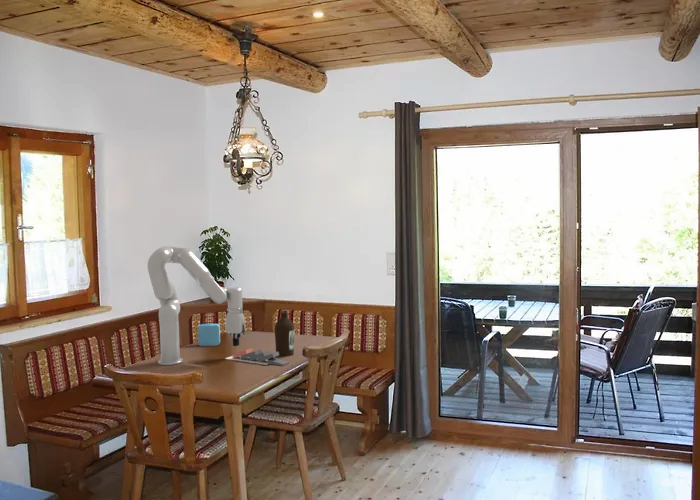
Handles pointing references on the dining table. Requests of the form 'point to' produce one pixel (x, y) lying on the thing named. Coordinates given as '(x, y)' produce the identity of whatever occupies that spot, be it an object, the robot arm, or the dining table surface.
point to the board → (248, 360)
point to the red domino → (242, 353)
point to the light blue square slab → (209, 334)
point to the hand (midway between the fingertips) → (236, 345)
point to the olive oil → (284, 335)
